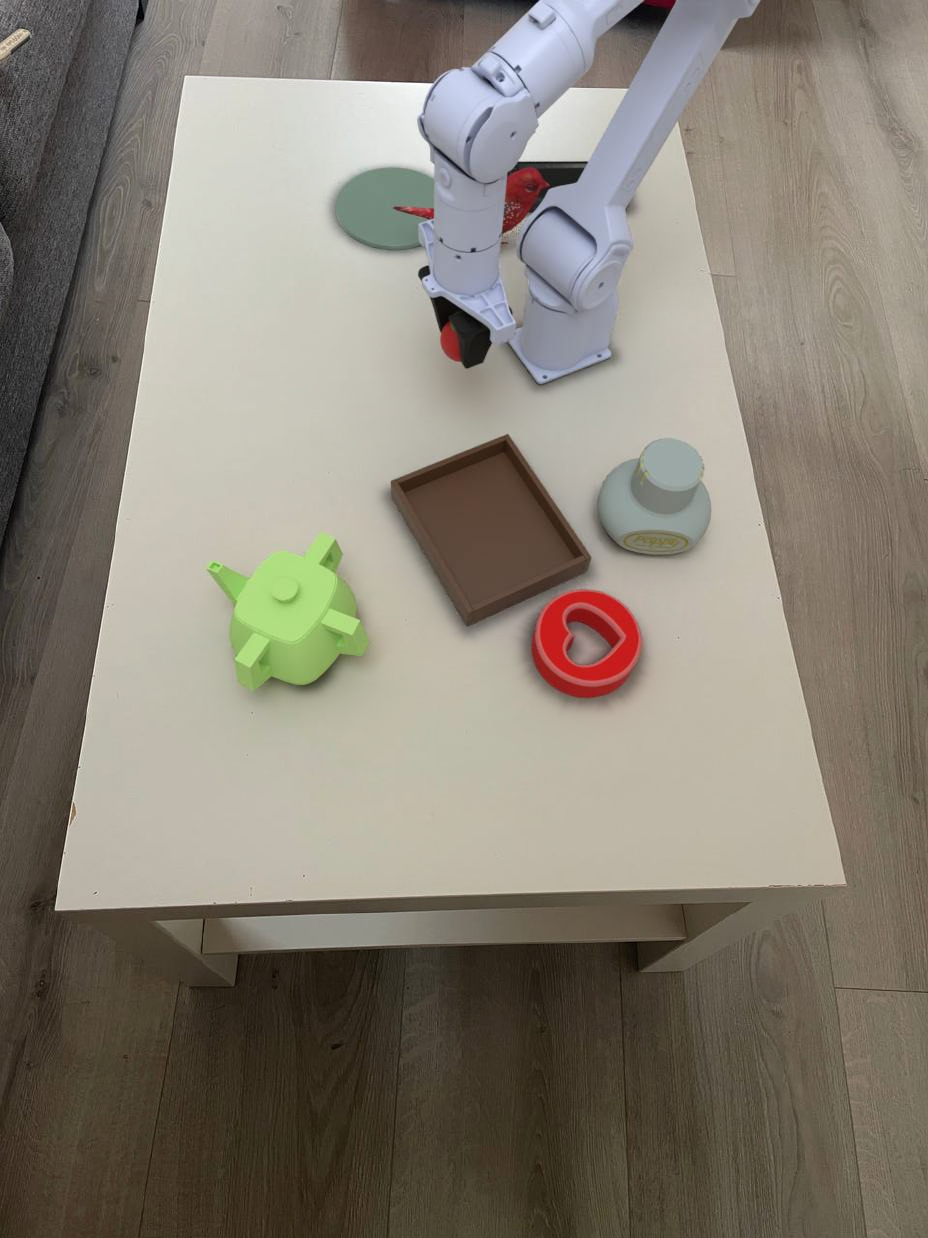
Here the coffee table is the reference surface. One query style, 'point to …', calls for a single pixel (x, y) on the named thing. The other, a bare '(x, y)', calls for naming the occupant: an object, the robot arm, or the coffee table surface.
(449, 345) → the strawberry
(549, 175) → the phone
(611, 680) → the decorative ornament
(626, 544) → the air freshener
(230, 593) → the teapot
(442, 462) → the tray
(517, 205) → the decorative bird figurine
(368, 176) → the plate
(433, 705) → the coffee table surface
